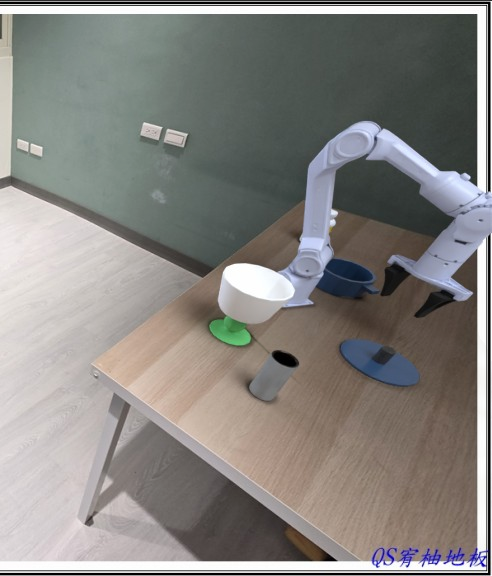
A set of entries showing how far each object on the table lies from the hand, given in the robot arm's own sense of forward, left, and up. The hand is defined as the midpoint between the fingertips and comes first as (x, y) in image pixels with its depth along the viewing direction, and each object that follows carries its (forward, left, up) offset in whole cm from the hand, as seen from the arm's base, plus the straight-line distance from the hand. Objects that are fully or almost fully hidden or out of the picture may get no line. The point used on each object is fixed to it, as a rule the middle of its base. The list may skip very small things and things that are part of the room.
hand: (401, 305), depth 86 cm
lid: (-9, -8, -8) cm, 15 cm away
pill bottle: (+20, +41, -9) cm, 46 cm away
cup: (-35, +6, -9) cm, 37 cm away
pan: (+8, +19, -9) cm, 22 cm away
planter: (-40, -11, -9) cm, 43 cm away
